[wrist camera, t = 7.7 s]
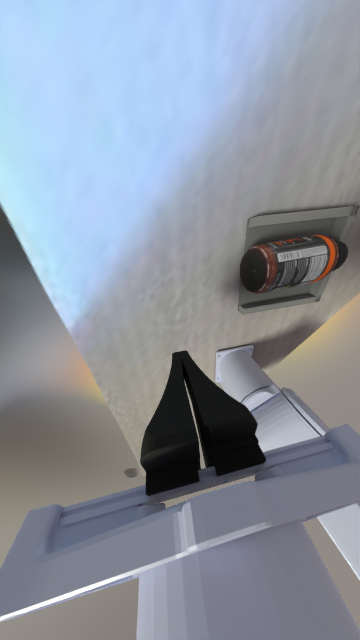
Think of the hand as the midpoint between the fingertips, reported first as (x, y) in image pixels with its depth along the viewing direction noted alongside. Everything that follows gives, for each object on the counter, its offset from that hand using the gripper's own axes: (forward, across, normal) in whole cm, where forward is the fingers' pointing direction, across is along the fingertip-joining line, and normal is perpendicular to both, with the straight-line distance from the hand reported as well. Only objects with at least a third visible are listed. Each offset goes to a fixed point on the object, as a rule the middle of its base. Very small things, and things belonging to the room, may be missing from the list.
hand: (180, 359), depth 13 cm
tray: (+10, -19, -5) cm, 22 cm away
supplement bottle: (+7, -11, -6) cm, 14 cm away
